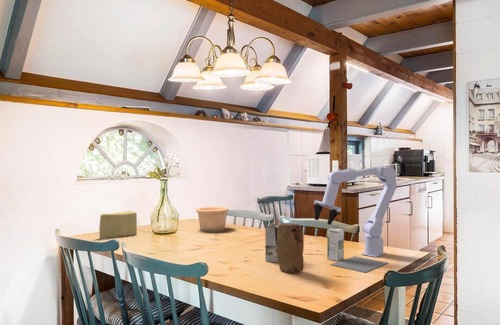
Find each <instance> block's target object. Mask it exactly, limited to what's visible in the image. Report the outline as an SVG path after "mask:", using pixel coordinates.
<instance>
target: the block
mask: <svg viewBox="0 0 500 325" xmlns="http://www.w3.org/2000/svg"><path fill="white" fill-rule="evenodd" d="M304 241H305V240H304V231H303V229H302V227H301V226H300V225H299V223H294V222H293V223H292V222H287V223H279V224H278V236H277V258H278V262H277V264H278V266H279V270H280V271H281V272H285V273H290V274H298V273H302V272H303V271H304V255H303V254H304Z"/></svg>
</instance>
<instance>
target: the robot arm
mask: <svg viewBox="0 0 500 325" xmlns="http://www.w3.org/2000/svg"><path fill="white" fill-rule="evenodd" d="M397 174H398V173H397V172H396V170H395V169H394V167H391V166H371V167H366V168H362V169H357V170H356V169H355V168H351V167H347V169H342V170H341V169H338V170H337V171H331V172H329V174H328V175H327V181H328V182H327V183H326V188H325V191H324V195H323V198H322V200H321V201H320V200H316V199H315V200H314V202H313V204H314V205H313V208H314V209H313V210H314V220H315V221H319V220H320V219H319V218H320V216H321V214H322V211H323V209H324V208H326V209H329V214H328V215H329V216H328V218H327V219H328V220H327V225H329V226H331V225H332V224H333V221H334V220H335V219H336V217H337V216H338V215H340V213H341V211H342V208H341V207H339V206H335V201H336V199H337V195H338V191H339V188H340V184H341V183H346V182H351V181H356V179H357V178H359V177H364V176H371V175H373V176H376V178H377V179H378V180H380V182H381V183H382V185H383V189H382V191H381V194H380V196H379V199H378V200H377V203H376V205H375V208H374V209H373V212H372V215H371V216H370V217H368V218H367V221H366V222H364V223H363V226H362V230H363V232H364V252H361V255H363V256H368V257H369V256H370V257H374V258H376V257H381V256H382V255H385V254H386V253H385V252H384V240H383V237H382V236H381V235H382V233H383V227H384V222H383V220H384V217H385V214H386V213H387V210H388V208H389V205H390V203H391V201H392V199H393V197H394V194H395V191H396V190H397V187H398V186H397Z"/></svg>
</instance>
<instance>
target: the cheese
mask: <svg viewBox="0 0 500 325" xmlns="http://www.w3.org/2000/svg"><path fill="white" fill-rule="evenodd" d="M137 215H138V214H137V212H136V211H132V210H129V211H120V212H113V213H112V212H111V213H102V214H101V215H100V218H99V232H98V233H99V239H100V240H104V239H105V240H106V239H113V238H114V239H115V238H120V237H131V236H137V234H138V233H137V232H138V230H137V229H138V228H137V227H138V225H137V223H138V221H137V219H138V218H137Z"/></svg>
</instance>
